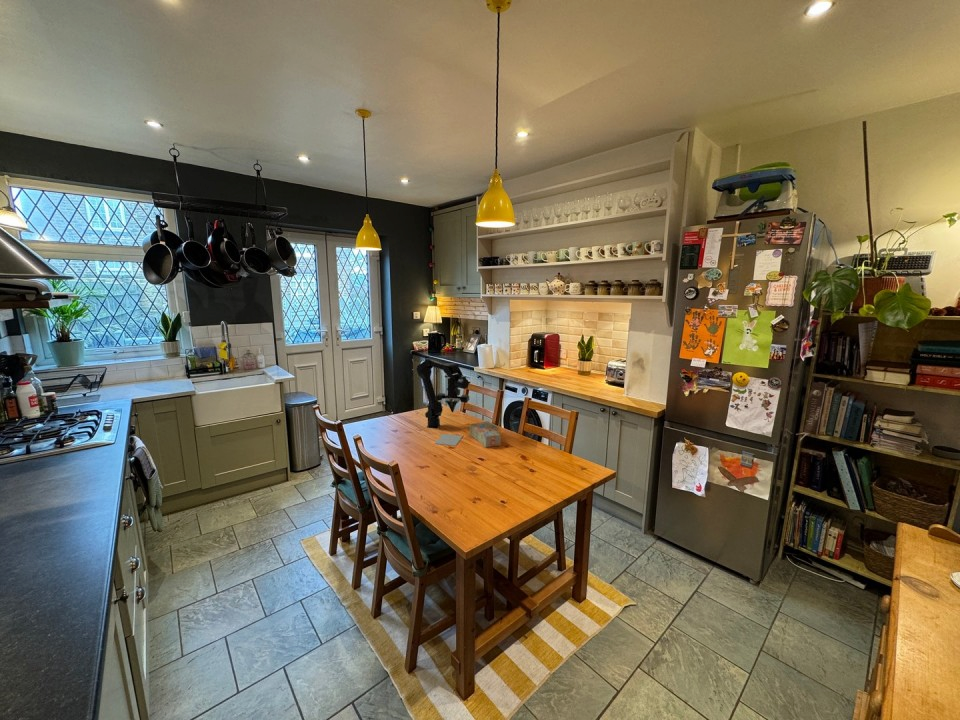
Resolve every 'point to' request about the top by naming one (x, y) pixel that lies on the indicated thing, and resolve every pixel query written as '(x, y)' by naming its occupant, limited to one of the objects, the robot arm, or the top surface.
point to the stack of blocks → (485, 433)
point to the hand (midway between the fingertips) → (452, 412)
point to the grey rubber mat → (449, 439)
